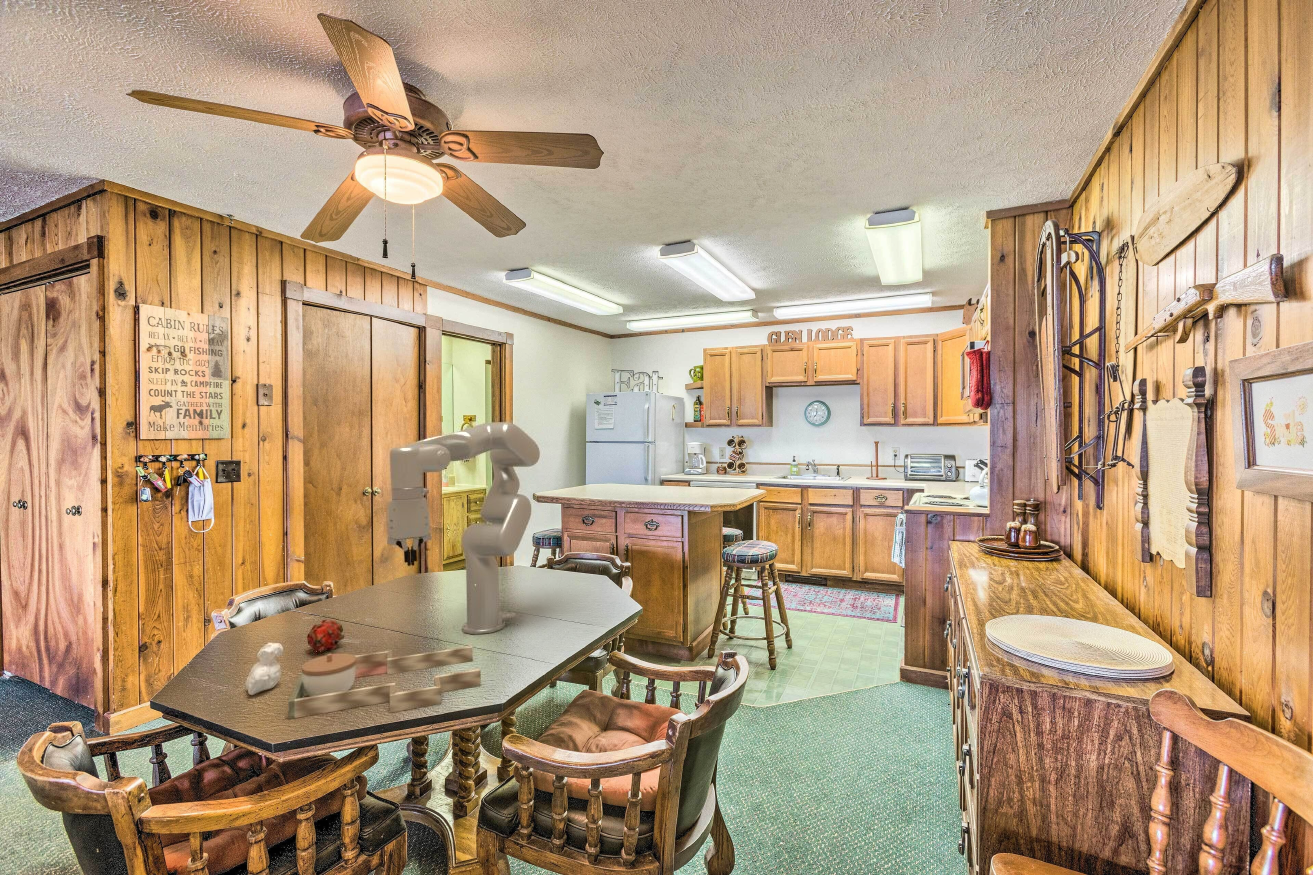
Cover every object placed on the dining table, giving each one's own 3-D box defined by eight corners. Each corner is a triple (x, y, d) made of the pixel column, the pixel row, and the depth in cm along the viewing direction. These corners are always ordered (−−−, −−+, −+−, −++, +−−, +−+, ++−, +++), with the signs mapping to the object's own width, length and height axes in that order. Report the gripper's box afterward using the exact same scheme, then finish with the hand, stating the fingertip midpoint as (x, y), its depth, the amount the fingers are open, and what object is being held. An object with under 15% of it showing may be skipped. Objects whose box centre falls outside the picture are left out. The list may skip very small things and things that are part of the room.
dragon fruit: (338, 646, 169) (320, 668, 158) (311, 631, 168) (291, 652, 156) (355, 623, 169) (338, 643, 157) (328, 607, 168) (309, 627, 156)
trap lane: (469, 652, 158) (469, 639, 158) (484, 695, 131) (483, 679, 131) (306, 677, 143) (306, 662, 143) (283, 731, 116) (283, 713, 116)
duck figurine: (260, 707, 132) (295, 662, 135) (227, 692, 130) (264, 646, 132) (270, 687, 143) (302, 646, 146) (240, 672, 140) (273, 631, 143)
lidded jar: (318, 711, 125) (317, 666, 125) (292, 700, 130) (291, 657, 130) (366, 692, 134) (366, 651, 134) (340, 683, 139) (340, 643, 139)
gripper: (436, 490, 160) (440, 558, 160) (375, 495, 153) (379, 565, 154) (439, 493, 153) (442, 563, 153) (375, 498, 146) (379, 572, 147)
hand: (410, 564), depth 154 cm, fingers closed
